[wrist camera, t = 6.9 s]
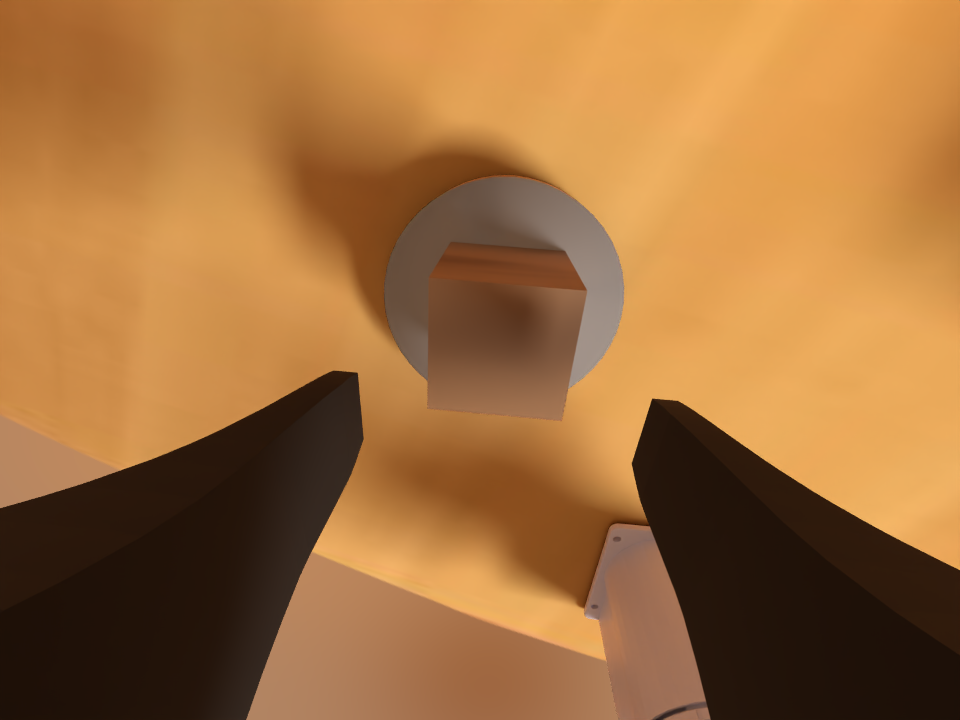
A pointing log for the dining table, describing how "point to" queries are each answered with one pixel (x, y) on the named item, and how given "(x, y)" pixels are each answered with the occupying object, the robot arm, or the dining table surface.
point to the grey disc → (515, 223)
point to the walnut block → (502, 330)
